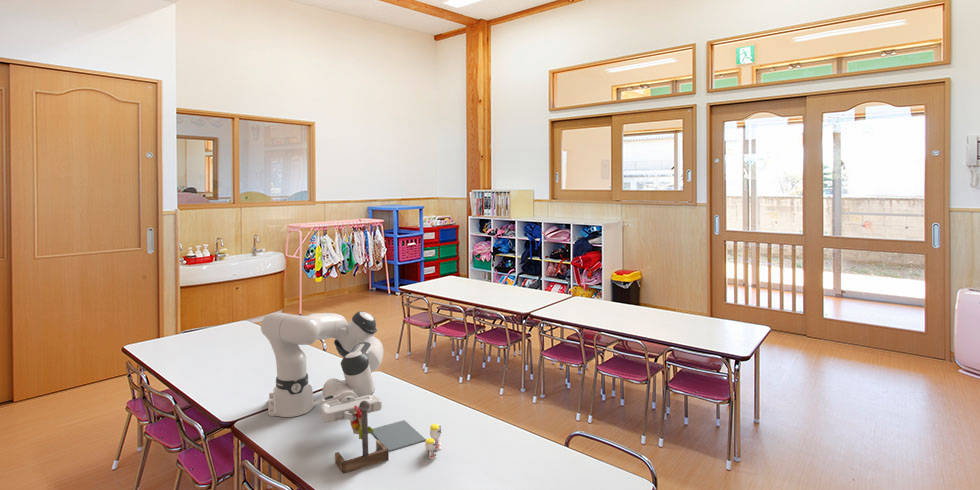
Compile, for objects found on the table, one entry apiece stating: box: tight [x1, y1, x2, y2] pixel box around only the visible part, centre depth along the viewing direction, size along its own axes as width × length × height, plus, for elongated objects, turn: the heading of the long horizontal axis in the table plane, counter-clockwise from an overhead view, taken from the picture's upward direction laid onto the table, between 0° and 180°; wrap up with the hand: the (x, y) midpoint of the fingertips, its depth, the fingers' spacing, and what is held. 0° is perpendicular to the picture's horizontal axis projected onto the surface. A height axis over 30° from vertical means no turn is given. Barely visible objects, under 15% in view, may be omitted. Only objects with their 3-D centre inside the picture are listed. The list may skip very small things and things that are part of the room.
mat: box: [370, 419, 427, 453], centre depth 193 cm, size 18×14×1 cm
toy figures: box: [424, 423, 442, 460], centre depth 183 cm, size 12×4×8 cm, turn 172°
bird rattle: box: [349, 405, 374, 441], centre depth 177 cm, size 6×11×9 cm
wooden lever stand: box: [334, 401, 389, 475], centre depth 174 cm, size 9×15×22 cm, turn 124°
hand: (359, 417), depth 176 cm, fingers closed on bird rattle, 2 cm apart
